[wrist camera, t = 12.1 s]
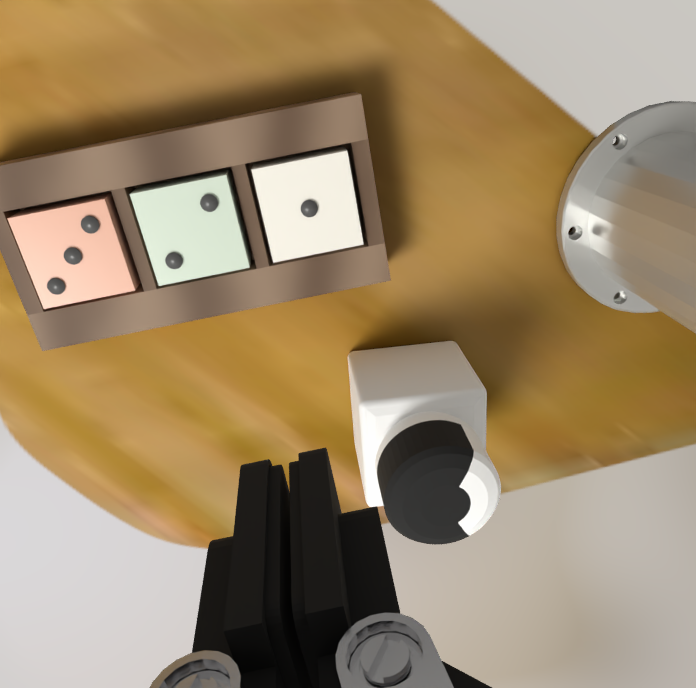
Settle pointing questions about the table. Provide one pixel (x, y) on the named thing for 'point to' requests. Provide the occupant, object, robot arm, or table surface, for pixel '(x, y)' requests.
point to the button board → (182, 161)
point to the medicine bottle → (423, 440)
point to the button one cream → (308, 203)
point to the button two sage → (192, 226)
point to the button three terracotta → (75, 250)
